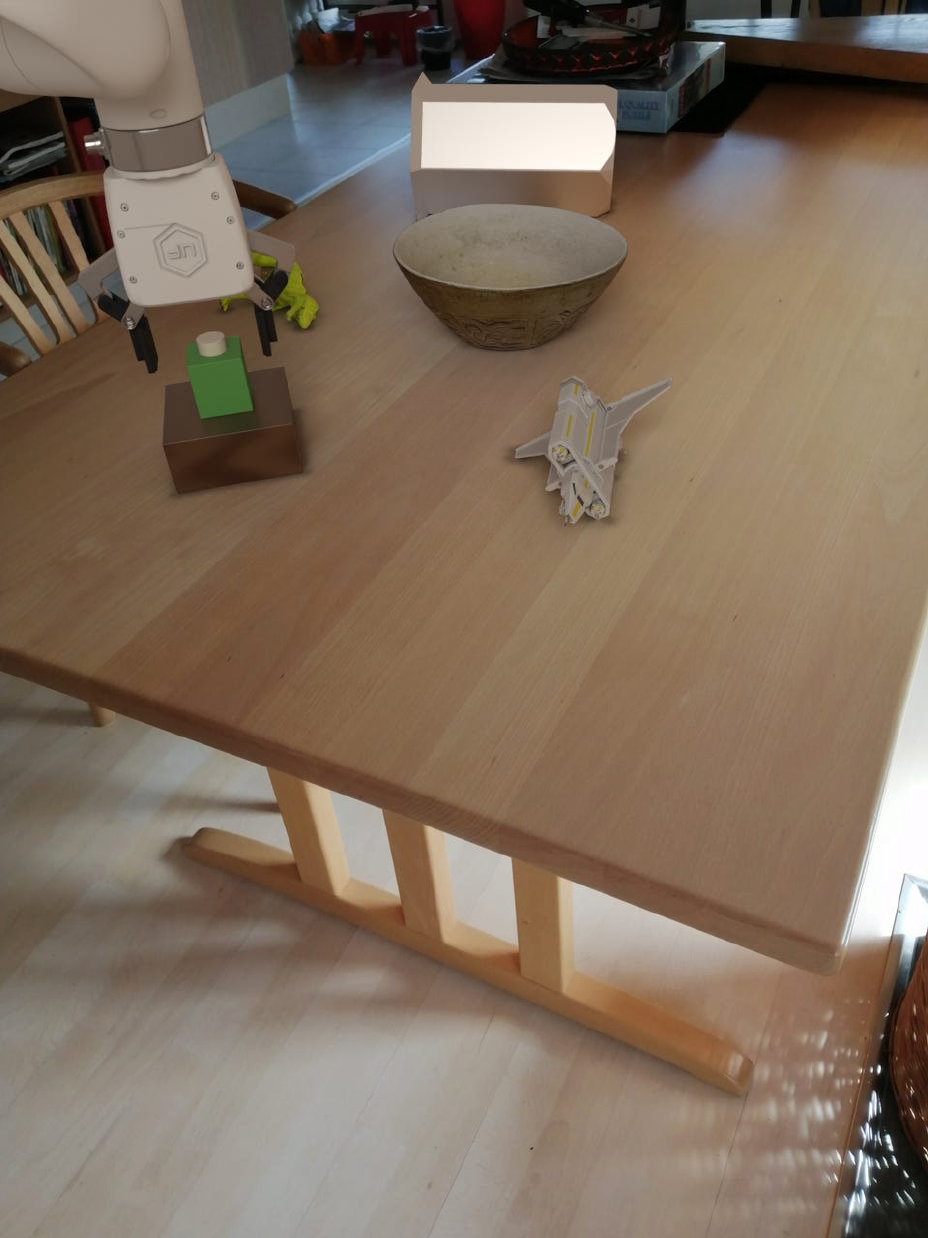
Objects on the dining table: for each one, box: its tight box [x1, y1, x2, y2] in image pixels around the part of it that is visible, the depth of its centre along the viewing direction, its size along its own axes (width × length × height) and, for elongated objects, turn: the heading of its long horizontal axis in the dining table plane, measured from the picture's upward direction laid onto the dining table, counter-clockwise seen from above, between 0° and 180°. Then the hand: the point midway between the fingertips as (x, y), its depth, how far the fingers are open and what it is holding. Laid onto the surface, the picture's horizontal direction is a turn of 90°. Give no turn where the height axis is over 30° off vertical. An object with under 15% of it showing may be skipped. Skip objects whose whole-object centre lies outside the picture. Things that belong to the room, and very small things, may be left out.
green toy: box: [186, 330, 254, 419], centre depth 87 cm, size 5×5×6 cm
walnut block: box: [162, 366, 303, 494], centre depth 90 cm, size 11×11×5 cm
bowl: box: [392, 204, 629, 351], centre depth 104 cm, size 24×24×10 cm
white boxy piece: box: [409, 71, 619, 221], centre depth 130 cm, size 25×16×19 cm, turn 84°
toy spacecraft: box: [514, 374, 674, 528], centre depth 80 cm, size 8×15×15 cm
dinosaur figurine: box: [219, 251, 320, 329], centre depth 115 cm, size 20×10×6 cm, turn 35°
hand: (210, 358), depth 85 cm, fingers open, 9 cm apart
